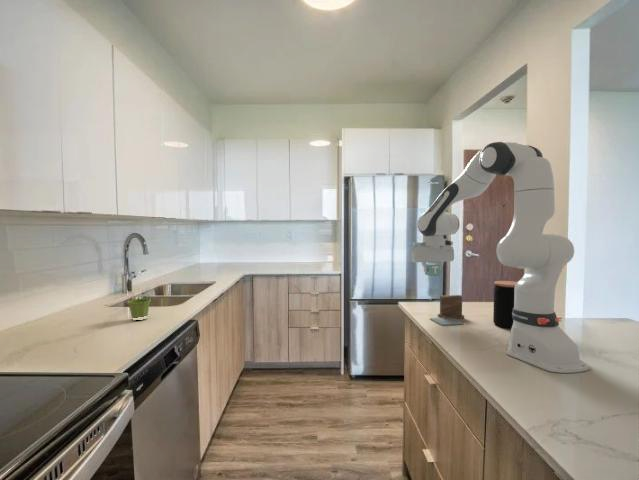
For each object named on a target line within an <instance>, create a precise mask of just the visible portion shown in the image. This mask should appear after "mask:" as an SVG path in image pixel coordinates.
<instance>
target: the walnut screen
mask: <svg viewBox="0 0 639 480" xmlns="http://www.w3.org/2000/svg"><path fill="white" fill-rule="evenodd" d="M439 298H440V299H439V313H438V314H437V318H447V317H451V318H453V319H455V318H459V319H465V315H463V295H462V294H453V295H452V294H450V295H449V294H448V295H440V296H439Z"/></svg>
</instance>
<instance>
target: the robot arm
mask: <svg viewBox="0 0 639 480" xmlns="http://www.w3.org/2000/svg"><path fill="white" fill-rule="evenodd" d="M497 175H500V176H506V177H511V178H512V180H513V217H512V222H511V224H510V227H509V228H508V231H507V233H506V234H505V235H504V237H503V238H501V239H500V240H499V242H498V243H497V246H496V250H495V251H496V257H497V259H498V261H499V263H501V264H502V265H503V266H506V267H509V268H513V269H514V268H515V269H518V270H519V269H523V270H524V269H526V270H525V272H524V274H523V276H522V277H521V278H520V279H519V280H518V281H516V282H517V283H516V285H515V288H514V308H513V311H512V318H513V319H514V320H513V325H512V328H511V329H510V332H509V342H508V345H507V348H506V350H505V351H506V352H505V354H506V355H507V356H511V357H513V358H516V359H518V360H520V361H523V362H525V363H528V364H531V365H532V366H535V367H538V368H540V369H543V370H546V371H548V372H552V373H559V374H561V373H563V374H565V373H566V374H567V373H568V374H569V373H570V374H572V373H581V372H585V371H588V370H590V364H589V363H587V362H585V361H583V360H581V359H580V350H579V347H578V345H577V344H576V343H575V341H573V339H572V338H570V337H569V336H568V334H567V333H566V332H565V331H564V330H563V329H562V328H561V327H560V326H559V325H560V324H559V323H560V322H562V319H563V318H562V317H558V316H557V313H556V312H555V298H556V297H555V296H556V295H555V294H556V287H557V283H558V281H559V278H560V275H561V274H562V271H563V269H564V268H565V266H566V265H568V263H569V262H571V261H572V259H573V258H574V255H575V246H574V244H573V242H572V241H571V240H570V239H569V238H567V237H565V236H561V235H559V234H553V233H543V232H544V229H545V227H546V225H547V222H549V220H551V219H552V218H553V217H554V215H555V212H556V209H555V181H554V175H553V169H552V164H551V163H550V161H549V160H548V159H547V158H545V157H544V156H543V153H542V151H540V149H539V148H536V147H534V146H532V145H529V144H528V145H526V144H522V143H521V144H520V143H518V142H503V141H494V142H491V143H488V144H487V145H485V146H484V147H483V148H481V149H479V151H477V152H476V153H475V154H474V156H472V158H471V160H470V161H469V162H468V163H467V165H466V167H464V170H463V171H462V172H461V174H460V175H459V176H458V177H456V178H455V180H454V181H453V182H451V183H450V184H449V185H447V186H446V187H445V188H444V189H443V190H442V191H441V193H440V194H439V195H438V196H437V198H436V199H435V200H434V202H433V203H432V204H431V205H430V206H429V207H427V208H425V209H424V211H423V213H422V215H420V216H419V218H418V221H417V228H418V231H419V233H421V234H422V241H420V242H418V241H415V242H414V243H412V245H411V255H410V258H411V262H412V263H421V266H422V268H423V272H424V273H425V272H428V271H429V268H427V267H426V264H428V263H432V262H433V263H438V264H439V265H440V272H442V268H443V266H444V263H445V262H453V261H454V260H455V251H454V247H453V245H454V242H453V241H452V240H449V239H446V238H444V236H451V235H454V234H456V233H457V232H458V231H459V229H460V219H459V218H458V216H457V215H456V214H454V213H451V212H447V210H448V209H449V208H450V207H451V206H452V205H454V204H455V203H458V202H460V201H463V200H464V201H465V200H468V199H473V198H476V197H479V196H480V195H482V194H483V193H484V192H485V191H486V190H488V188H489V186H490V185H491V183H492V182H493V181H494V179H495V178H496V176H497Z"/></svg>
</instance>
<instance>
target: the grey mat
mask: <svg viewBox="0 0 639 480" xmlns="http://www.w3.org/2000/svg"><path fill="white" fill-rule="evenodd" d="M429 320H430V321H431V322H434V323H436V324H438V325H439V326H441V327H446V326H459V325H461V326H462V325H463V326H464V323H463V322H462V321H459V320H457V319H455V318H451V317H447V318H440V317H430V318H429Z"/></svg>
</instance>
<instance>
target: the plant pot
mask: <svg viewBox="0 0 639 480" xmlns="http://www.w3.org/2000/svg"><path fill="white" fill-rule="evenodd" d="M126 302H127V304H128V307H129V311H130V315H131V316H130V317H131V318H132V317H133V318H138V317H144V316H147V315H148V316H149V307H150V302H151V298H135V299H131V300H128V301H126Z"/></svg>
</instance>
